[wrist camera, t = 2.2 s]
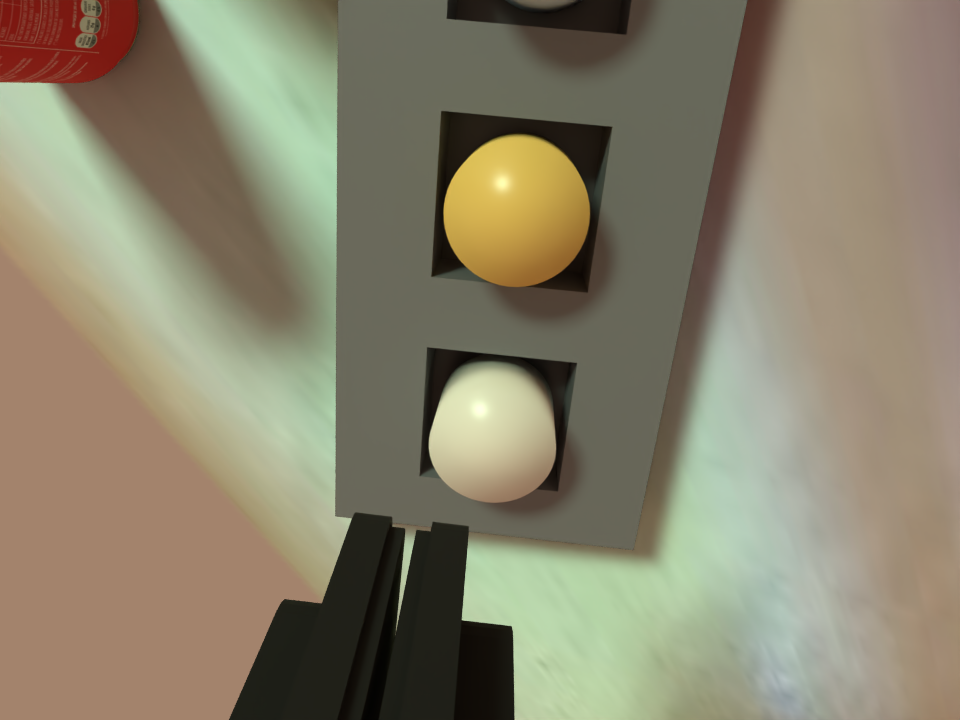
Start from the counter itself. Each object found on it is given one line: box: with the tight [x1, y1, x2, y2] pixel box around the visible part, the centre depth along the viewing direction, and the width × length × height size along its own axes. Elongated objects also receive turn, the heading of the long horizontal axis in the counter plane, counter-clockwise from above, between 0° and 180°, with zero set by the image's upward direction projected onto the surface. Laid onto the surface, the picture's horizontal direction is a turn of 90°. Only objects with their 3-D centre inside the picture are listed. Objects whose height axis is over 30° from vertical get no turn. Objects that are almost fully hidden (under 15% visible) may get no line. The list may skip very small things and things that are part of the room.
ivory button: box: [429, 354, 556, 503], centre depth 25 cm, size 4×4×3 cm
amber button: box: [444, 132, 590, 287], centre depth 22 cm, size 4×4×3 cm
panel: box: [335, 0, 747, 550], centre depth 24 cm, size 12×26×3 cm, turn 175°
